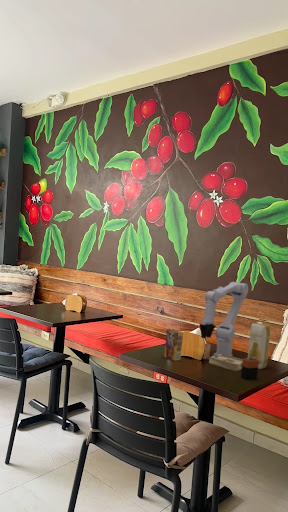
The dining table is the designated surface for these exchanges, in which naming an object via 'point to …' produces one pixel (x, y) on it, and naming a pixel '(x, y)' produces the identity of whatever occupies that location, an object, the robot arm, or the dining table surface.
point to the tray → (226, 362)
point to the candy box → (173, 344)
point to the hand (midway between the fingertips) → (205, 337)
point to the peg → (207, 351)
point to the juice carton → (259, 343)
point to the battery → (249, 368)
